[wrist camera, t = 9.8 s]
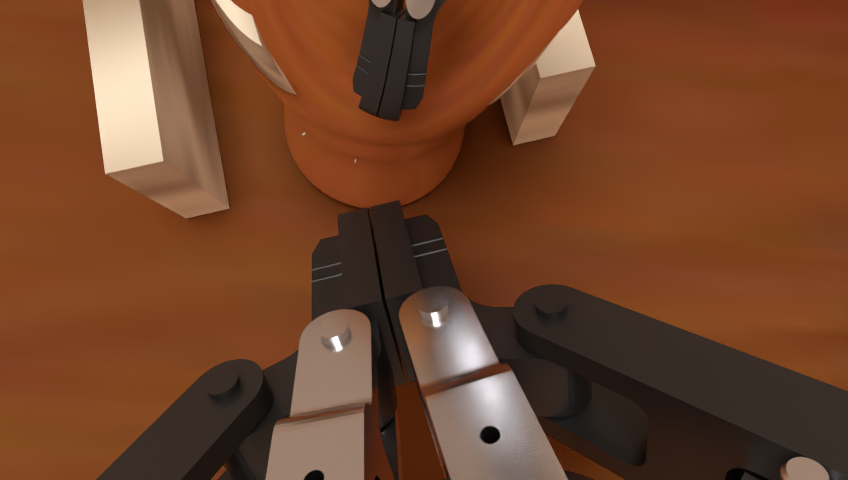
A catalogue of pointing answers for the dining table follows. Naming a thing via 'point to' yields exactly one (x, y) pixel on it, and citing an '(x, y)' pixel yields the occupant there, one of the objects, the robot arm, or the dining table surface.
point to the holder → (192, 109)
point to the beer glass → (388, 81)
